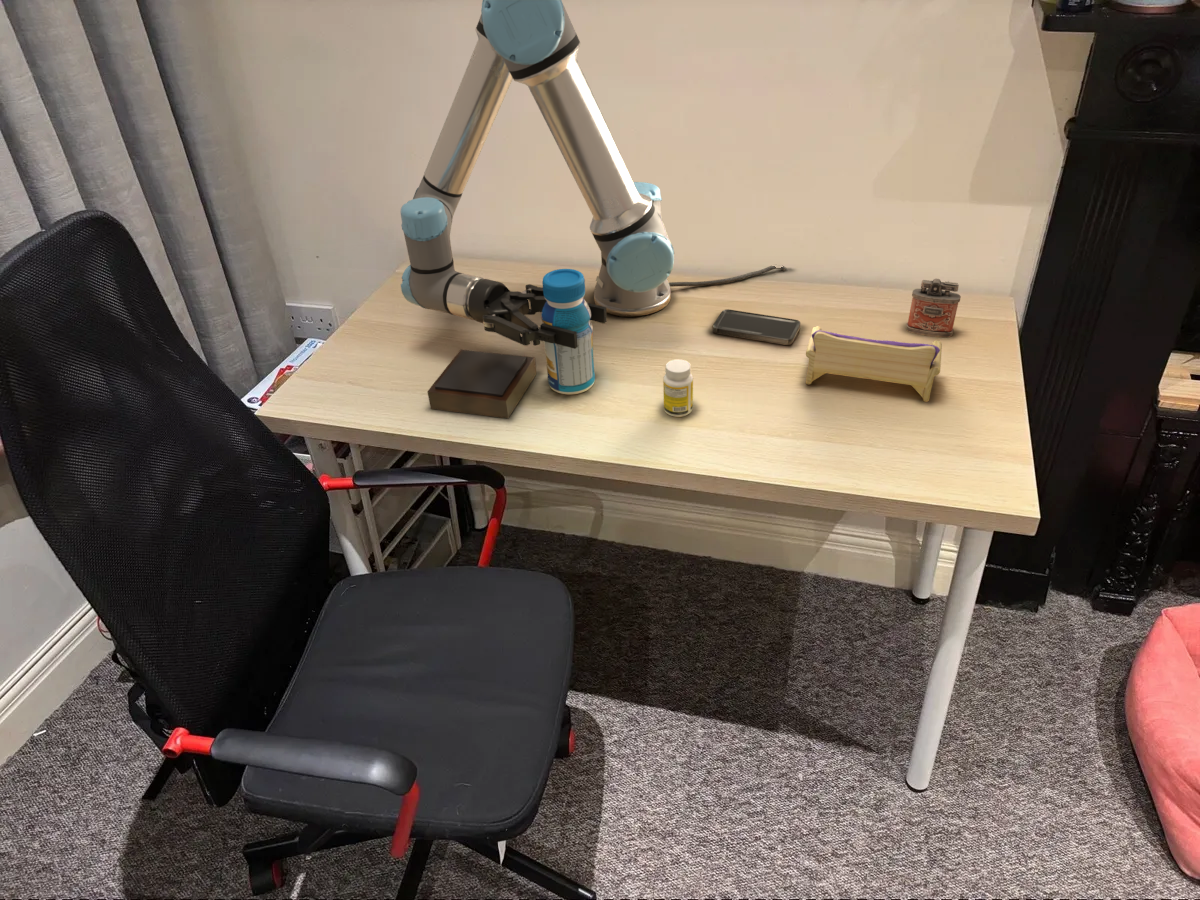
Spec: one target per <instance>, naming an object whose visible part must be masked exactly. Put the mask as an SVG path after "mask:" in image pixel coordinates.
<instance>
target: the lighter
mask: <svg viewBox="0 0 1200 900" xmlns="http://www.w3.org/2000/svg"><path fill="white" fill-rule="evenodd" d="M959 287H960V284H959V283H958V282H952V281H941V279H939V278H933V280H930V279H922V280H921V284H920V288H914V289H913V290H912V293H911V296H912V299H911V304H910V310H909V314H908V320H907V323H906V325H905V330H906V331H907V332H908V333H912V334H916V335H920V336H921V335H922V336H928V337H937V338H950V337H952V336H953V333H954V325H955V320H956V315H957V311H958V306H959V303H960V301H961V297H962V296H961V295H960V294H959V293H957V292H958V291H959Z"/></svg>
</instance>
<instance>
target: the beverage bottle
mask: <svg viewBox="0 0 1200 900" xmlns="http://www.w3.org/2000/svg"><path fill="white" fill-rule="evenodd" d="M541 285H542V287H543V293H544V297H545V299H546V300H547V301H546V303H545V305H544V307H543V310H542V312H541V314H540V315H541V316H540V318H541V321H542V323H544V324H548V325H552V326H556V327H559V328H563V329H567V330H571V331H575V332H577V344H578V347H577V348H576V349H574V348H570V347H566V346H562V345H559V344H555V343H548V342H544V341H543V344H544V353H545V361H546V362H545V363H546V372H547V373H546V374H547V384H548V386H549V388H550V389H551V390H552V391H554V392H555V393H559V394H561V395H577V394H581V393H584V392H587V391H588V390H590V389H591V388H592V387H593V386H594V384H595V381H596V374H595V359H594V342H593V340H594V339H593V333H594V328H593V321H592V320H590V318H591V310H590V308H589V306H588V304H587V303H588V302H587V301H586V299H585V298H584V297H585V295H586V280H585V276H584V274H583V273H582V272H581V271H579V270H577V269H572V268H558V269H554V270H551V271H549V272H547V273H545V274H544V275H543V277H542V283H541Z"/></svg>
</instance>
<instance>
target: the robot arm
mask: <svg viewBox="0 0 1200 900" xmlns="http://www.w3.org/2000/svg"><path fill="white" fill-rule="evenodd" d="M480 11H481V14H480V16H479V19H478V22H477V25H476V27H475V32H476V36H477V41H476V44H475V46H474V50H472V54H471V56H470V58H469V61H468V63H467V66H466V68H465V71H464V73H463V76H462V78H461V82H460V83H459V85H458V89H457V91H456V94H455V96H454V98H453V101H452V104H451V106H450V108H449V110H448V113H447V116H446V118H445V120H444V123H443V126H442V128H441V131H440V133H439V135H438V138H437V140H436V143H435V145H434V148H433V150H432V153H431V155H430V158H429V160H428V163H427V166H426V168H425V171H424V174H423V176H422V178H421V180H420V183H419V185H418V187H417V188H416V190H415V191H414V194H413V198H412V199H411V200H408V201H407V202H405V203H404V204H403V205H402V206H401V208H400V218H401V230H402V231H403V236H404V240H405V245H406V249H407V255H408V259H409V265H408V266H407V267H406V268H405V269H404V271H403V272H402V275H401V281H402V282H401V283H400V290H401V294H402V296H403V298H404V299H405V300H406V301H407V302H409V303H411V304H413V305H416V306H418V307H421V308H423V309H425V310H432V311H437V312H442V313H446V314H449V315H452V316H457V317H461V318H463V319H468V320H471V321H475V322H477V323H482V324H483V330H484V331H485V332H490V333H495V334H497V335H499V336H501V337H504V338H506V339H508V340H511V341H514V342H515V343H518V344H520V345H522V346H529V345H531V342H532V345H533V346H535V347H537V346H539V345H541V342H543V343H544V342H548V343H555V344H559V345H562V346H566V347H570V348H574V349H576V348H577V347H578V344H577V332H575V331H571V330H567V329H563V328H559V327H556V326H552V325H548V324H544V323H543V322H542V323H541V324H539V325H538V324H537V323H535V322H534V321H532V320H531V319H530V318H528V316H534V315H536V314H537V313H542V310H543V307H544V305H545V303H546V301H547V300H546V299H545V297H544V293H543V286H537V285H534V284H530V283H529V284H526V285H525V290H523V291H518V290H517V291H513V290H510V289H509V288H508V287H507V286H506V285H505V284H504V283H503V282H501V281H497V280H493V279H490V278H489V279H488V278H484V277H481V276H476V275H471V274H467V273H463V272H460V271H456V269H455V264H454V258H453V257H454V256H453V250H452V244H451V243H452V242H451V230H452V224H453V219H454V215H455V213H456V210H457V208H458V205H459V202H460V201H461V198H462V196H463V193H464V191H465V188H466V186H467V184H468V182H469V179H470V177H471V175H472V173H473V171H474V168H475V165H476V164H477V162H478V159H479V156H480V154H481V152H482V150H483V148H484V146H485V143H486V141H487V139H488V137H489V134H490V131H491V130H492V127H493V125H494V123H495V120H496V118H497V116H498V113H499V111H500V109H501V107H502V105H503V102H504V100H505V98H506V95H507V93H508V91H509V90H510V86H511V84H512V82H513V81H514V82H516V83H520V84H523V85H525V86H527V88H528V90H529V91H530V93H531V96H532V97H533V99H534V101H535V104H536V106H537V107H538V110H539V111H540V113H541V115H542V117H543V119H544V122H545V123H546V126H547V127H548V130H549V131H550V133H551V135H552V137H553V139H554V141H555V143H556V145H557V147H558V149H559V151H560V153H561V155H562V157H563V159H564V161H565V164H566V165H567V168H568V169H569V171H570V174H571V175H572V177H573V179H574V182H575V183H576V185H577V187H578V189H579V191H580V194H581V195H582V197H583V199H584V201H585V203H586V205H587V207H588V209H589V211H590V213H591V215H592V219H591V222H590V225H589V230H590V232H591V234H592V237H593V238H594V240H595V242H596V245H597V247H598V249H599V250H600V258H601V265H600V268H599V272H598V275H596V278H595V281H596V283H595V286H594V291H593V298H594V303H591V302H587V304H588V306H589V308H590V310H591V318H590V321H591V322H596V323H599V324H600V323H601V324H606V323H607V322H608V320H607V319H608V317H607V314H609V315H613V316H619V317H641V316H647V315H648V316H649V315H651V314H654V313H657V312H659V311H661V310H663V309H664V308H666V307H667V306H668V305H669V303H670V302H671V297H672V296H671V295H672V293H671V291H672V290H671V287H700V286H701V287H702V286H703V287H704V286H714V285H722V284H728V283H733V282H737V281H741V280H745V279H748V278H752V277H756V276H759V275H763V274H765V273H768V272H771V271H772V270H773V271H774V270H777V269H778V270H781V271H783V272H788V271H789V270H788V268H787V267H786V266H784V265H782V266H783V267H781V268H776V267H775V266H772V265H770V266H767V267H765V268H763V269H759V270H754V271H750V272H748V273H745V274H741V275H738V276H732V277H727V278H722V279H721V278H720V279H714V280H713V279H712V280H704V281H703V280H702V281H672V282H671V281H670V282H669V280H668V278H669V276H670V275H671V273H672V271H673V269H674V266H675V249H674V245H673V244H672V242H671V239H670V237H669V235H668V231H667V229H666V226H665V224H664V220H663V217H662V207H661V206H662V199H663V198H662V195H661V189H660V188H659V186H658V185H656V184H654V183H651V182H644V181H633V178H632V176H631V174H630V172H629V170H628V167H627V165H626V163H625V161H624V158H623V157H622V155H621V152H620V150H619V148H618V145H617V144H616V141H615V138H614V137H613V135H612V133H611V130H610V128H609V126H608V124H607V122H606V119H605V117H604V115H603V113H602V111H601V108H600V106H599V104H598V103H597V100H596V97H595V95H594V93H593V91H592V89H591V87H590V85H589V82H588V79H587V78H586V76H585V73H584V72H583V69H582V67H581V64H580V63H579V61H578V54H579V50H580V48H581V41H580V38H579V37H578V34H577V32H576V29H575V28H574V25H573V23H572V21H571V18H570V16H569V14H568V12H567V10H566V7H565V5H564V3H563V1H562V0H482V2H481V10H480Z"/></svg>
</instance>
